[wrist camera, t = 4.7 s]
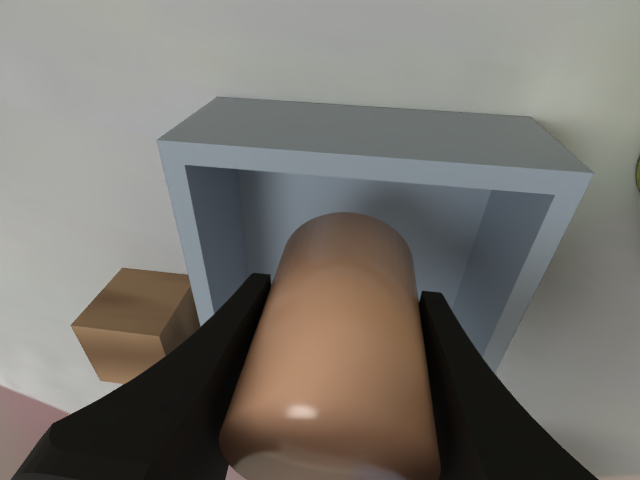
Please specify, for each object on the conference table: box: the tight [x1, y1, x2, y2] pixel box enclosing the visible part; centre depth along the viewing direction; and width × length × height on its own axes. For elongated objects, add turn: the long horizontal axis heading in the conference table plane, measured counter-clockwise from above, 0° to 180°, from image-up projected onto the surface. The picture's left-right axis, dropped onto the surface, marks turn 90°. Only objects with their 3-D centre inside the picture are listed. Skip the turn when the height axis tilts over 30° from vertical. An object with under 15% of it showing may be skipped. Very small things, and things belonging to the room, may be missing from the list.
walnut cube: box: [71, 268, 201, 384], centre depth 23 cm, size 5×5×5 cm
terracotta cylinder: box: [219, 212, 441, 480], centre depth 11 cm, size 5×5×7 cm
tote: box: [157, 97, 594, 373], centre depth 19 cm, size 18×14×6 cm
